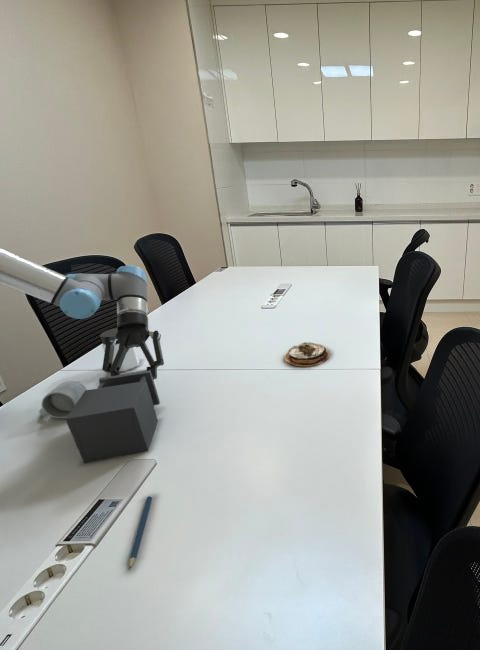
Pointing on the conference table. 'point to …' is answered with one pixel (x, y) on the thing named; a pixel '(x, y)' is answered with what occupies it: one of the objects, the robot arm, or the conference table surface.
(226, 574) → the conference table surface
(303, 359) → the layered cake
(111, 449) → the dark grey cube
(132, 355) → the jar
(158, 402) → the basket
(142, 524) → the pencil
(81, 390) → the ceramic mug
